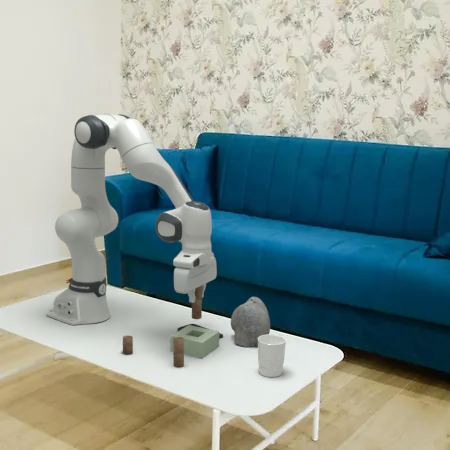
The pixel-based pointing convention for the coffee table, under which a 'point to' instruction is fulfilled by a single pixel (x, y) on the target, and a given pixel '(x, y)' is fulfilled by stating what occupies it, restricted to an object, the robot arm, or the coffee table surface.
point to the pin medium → (178, 351)
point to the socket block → (197, 341)
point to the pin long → (197, 304)
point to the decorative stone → (250, 322)
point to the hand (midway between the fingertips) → (196, 300)
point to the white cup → (271, 355)
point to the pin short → (127, 345)
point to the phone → (198, 326)
